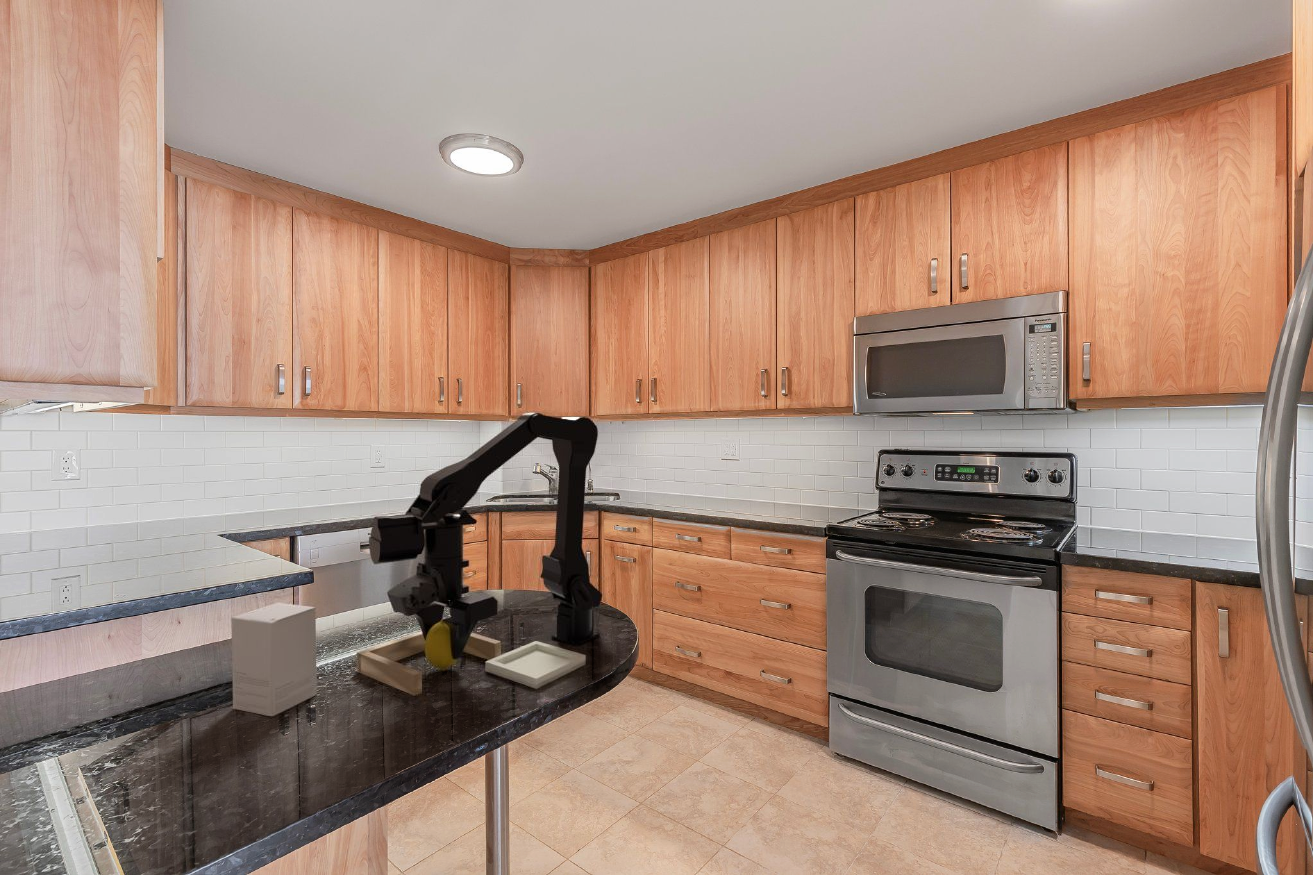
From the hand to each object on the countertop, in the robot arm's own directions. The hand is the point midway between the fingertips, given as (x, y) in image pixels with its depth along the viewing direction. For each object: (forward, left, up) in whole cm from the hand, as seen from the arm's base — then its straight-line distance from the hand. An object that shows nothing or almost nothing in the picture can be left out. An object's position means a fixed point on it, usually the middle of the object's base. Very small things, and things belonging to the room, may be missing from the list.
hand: (443, 654), depth 96 cm
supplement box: (+20, -10, -3) cm, 23 cm away
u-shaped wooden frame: (0, -3, -2) cm, 4 cm away
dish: (-9, +11, -2) cm, 14 cm away
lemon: (0, 0, -3) cm, 3 cm away
